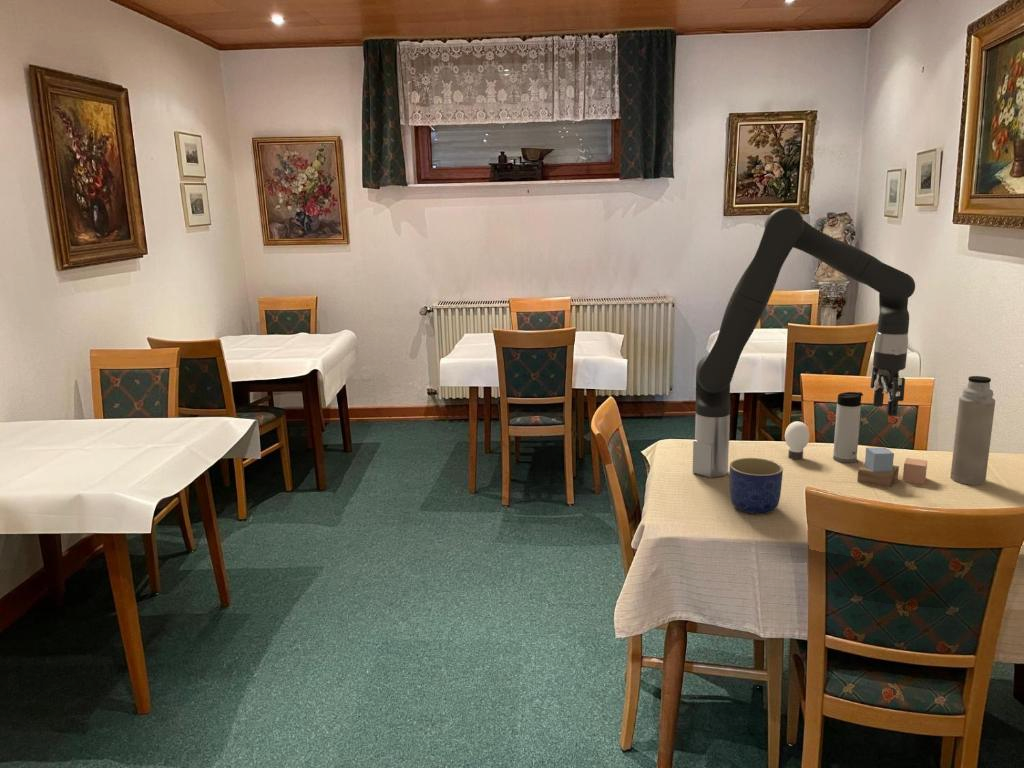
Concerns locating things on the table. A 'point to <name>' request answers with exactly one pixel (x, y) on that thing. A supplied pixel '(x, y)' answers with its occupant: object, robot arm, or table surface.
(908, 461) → the terracotta cube
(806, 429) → the light bulb
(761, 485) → the planter
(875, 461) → the blue cube
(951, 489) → the table surface
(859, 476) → the walnut block
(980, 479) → the thermos bottle
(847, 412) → the travel mug
